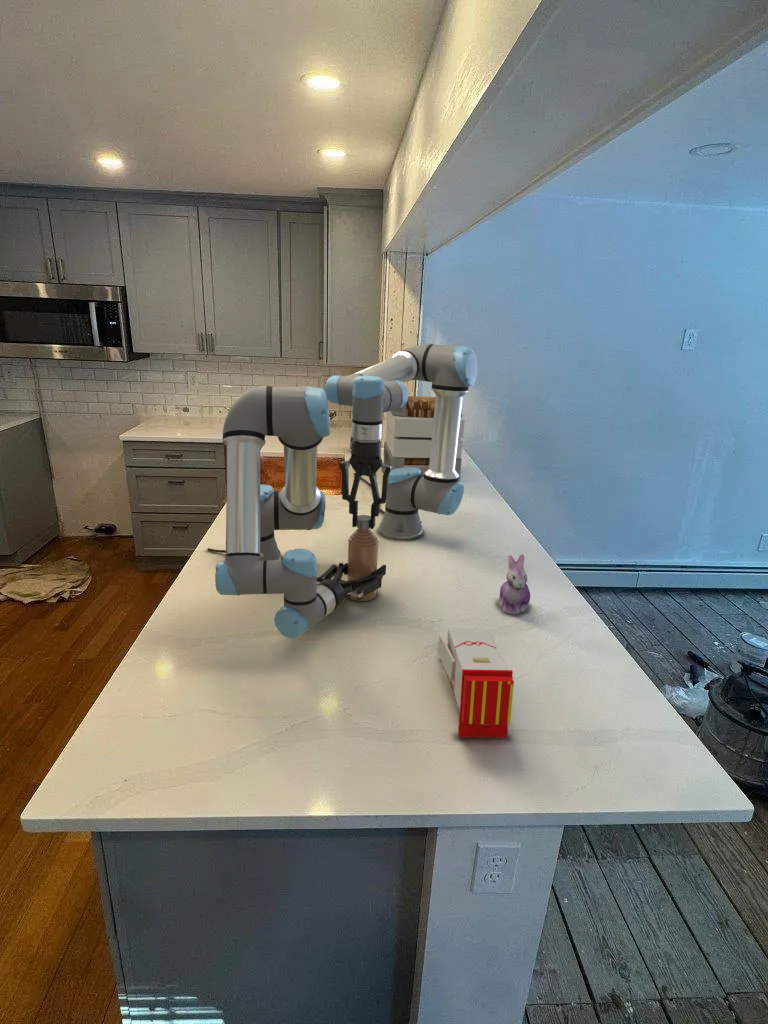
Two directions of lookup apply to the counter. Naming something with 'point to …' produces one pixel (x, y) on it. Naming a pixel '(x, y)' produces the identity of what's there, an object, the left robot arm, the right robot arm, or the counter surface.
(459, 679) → the toy
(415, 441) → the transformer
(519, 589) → the figurine
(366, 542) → the tan bottle
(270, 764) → the counter surface
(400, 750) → the counter surface
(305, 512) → the left robot arm
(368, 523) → the cap
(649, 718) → the counter surface
